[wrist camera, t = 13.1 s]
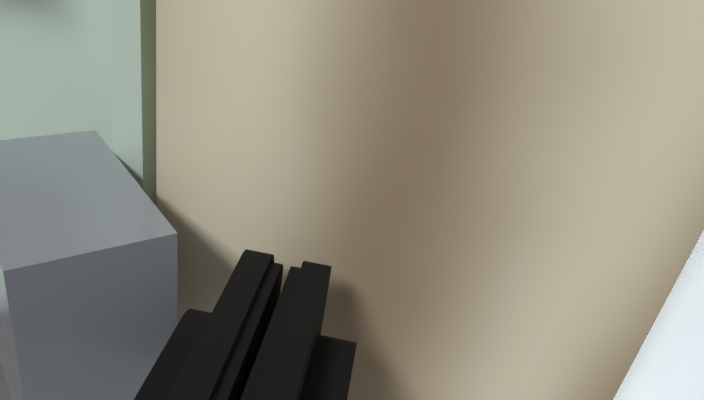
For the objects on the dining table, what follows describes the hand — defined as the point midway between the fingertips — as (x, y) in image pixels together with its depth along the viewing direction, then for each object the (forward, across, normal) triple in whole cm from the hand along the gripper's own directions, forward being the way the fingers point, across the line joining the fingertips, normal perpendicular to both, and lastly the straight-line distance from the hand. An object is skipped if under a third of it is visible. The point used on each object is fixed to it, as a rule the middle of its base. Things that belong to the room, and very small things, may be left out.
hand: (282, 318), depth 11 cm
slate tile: (+1, +3, 0) cm, 3 cm away
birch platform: (+4, -2, -5) cm, 6 cm away
